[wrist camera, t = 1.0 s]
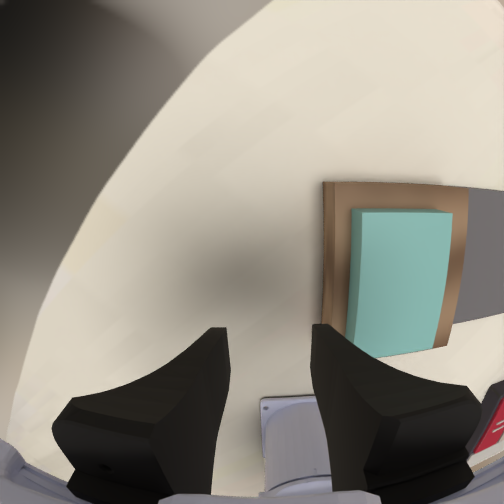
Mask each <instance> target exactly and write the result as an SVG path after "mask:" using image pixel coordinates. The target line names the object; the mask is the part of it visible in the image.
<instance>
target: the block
mask: <svg viewBox="0 0 504 504" xmlns="http://www.w3.org/2000/svg"><path fill="white" fill-rule="evenodd" d="M452 215H453V213H449V212H445V211H441V210H437V209H396V208H356V209H352V223H351V263H350V283H349V298H348V311H347V323H346V333H345V338H346V339H348V340H349V341H350V342H352V343H353V344H354V345H356V346H357V347H358V348H360V349H361V350H363V351H364V352H366V353H367V354H369V355H370V356H372V357H374V358H379V357H386V356H392V355H399V354H405V353H410V352H416V351H421V350H427V349H432V347H433V344H434V340H435V335H436V331H437V327H438V322H439V318H440V313H441V308H442V302H443V297H444V291H445V285H446V278H447V271H448V263H449V254H450V244H451V232H452Z"/></svg>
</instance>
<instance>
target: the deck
mask: <svg viewBox="0 0 504 504" xmlns="http://www.w3.org/2000/svg"><path fill="white" fill-rule="evenodd" d="M468 201H469V188H461V187H452V186H443V185H428V184H409V183H383V182H323V207H324V264H323V299H322V321H321V324H329V325H331V326H332V327H333V328H334V329H335V330H337V331H338V332H339V333H340V334H341V335H343V336H344V337H345V333H346V323H347V311H348V298H349V283H350V263H351V223H352V209H356V208H396V209H437V210H441V211H445V212H449V213H453V215H452V232H451V244H450V254H449V263H448V271H447V278H446V285H445V291H444V297H443V302H442V308H441V313H440V318H439V322H438V327H437V331H436V335H435V340H434V344H433V347H432V349H433V348H438V347H443V346H447V343H448V340H449V336H450V332H451V328H452V324H453V319H454V315H455V310H456V305H457V300H458V295H459V290H460V284H461V278H462V271H463V264H464V256H465V247H466V236H467V223H468ZM427 350H428V349H427ZM421 351H423V350H421ZM416 352H418V351H416ZM410 353H412V352H410ZM405 354H406V353H405ZM399 355H400V354H399ZM392 356H394V355H392ZM386 357H388V356H386ZM379 358H381V357H379Z"/></svg>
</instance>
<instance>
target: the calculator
mask: <svg viewBox="0 0 504 504" xmlns="http://www.w3.org/2000/svg"><path fill="white" fill-rule="evenodd" d="M481 406H482V409H483V410H482V416H481V419H480V422H479V424H478V426H477V428H476V430H475V431H474V433H473V435H472V437H471V438H470V440H469V441H468V443H467V445H466V446H465V447H466V449H467V451H468V452H469V457H468V459H466V461H467V463H468V465H469V467H472V466H474V465H476V464H478V463H480V462H482V461H484V460H486V459H488V458H490V457H492V456H494V455H496V454H498V453H499V452H501V451H503V450H504V380H503V381H501V382H498V383H495V384H493V385H491V386H490V387H489V389H488V391H487V393H486V395H485V397H484V399H483V401H482V403H481Z"/></svg>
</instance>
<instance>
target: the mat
mask: <svg viewBox="0 0 504 504" xmlns="http://www.w3.org/2000/svg"><path fill="white" fill-rule="evenodd" d="M452 187H456V186H452ZM461 188H467V187H461ZM501 313H504V191H497V190H488V189H478V188H469V201H468V223H467V236H466V247H465V256H464V264H463V271H462V278H461V284H460V290H459V295H458V300H457V305H456V310H455V315H454V319H453V324H456V323H461V322H466V321H470V320H475V319H480V318H484V317H489V316H493V315H497V314H501Z"/></svg>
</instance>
